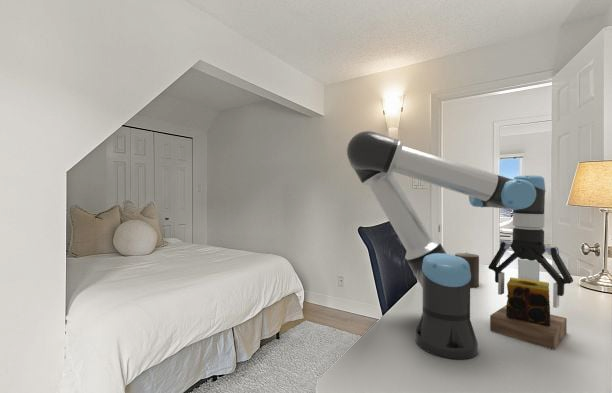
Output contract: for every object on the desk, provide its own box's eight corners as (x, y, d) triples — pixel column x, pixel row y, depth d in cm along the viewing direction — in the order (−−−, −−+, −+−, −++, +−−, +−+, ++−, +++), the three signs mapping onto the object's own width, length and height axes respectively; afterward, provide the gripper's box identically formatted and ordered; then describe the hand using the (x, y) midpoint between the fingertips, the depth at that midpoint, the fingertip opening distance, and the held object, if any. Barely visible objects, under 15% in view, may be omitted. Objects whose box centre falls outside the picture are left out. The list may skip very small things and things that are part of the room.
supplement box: (537, 285, 136) (537, 257, 136) (539, 290, 130) (539, 260, 130) (517, 283, 140) (517, 255, 140) (518, 287, 134) (518, 258, 134)
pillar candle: (471, 289, 130) (471, 254, 130) (450, 283, 139) (450, 250, 139) (483, 286, 136) (483, 252, 136) (462, 280, 144) (462, 249, 144)
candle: (550, 327, 82) (550, 290, 82) (505, 317, 89) (506, 283, 89) (550, 316, 90) (550, 282, 90) (509, 307, 97) (510, 276, 97)
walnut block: (553, 352, 79) (553, 332, 79) (490, 332, 91) (490, 315, 91) (566, 335, 89) (566, 318, 89) (507, 319, 100) (507, 304, 100)
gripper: (587, 231, 82) (586, 309, 82) (487, 223, 102) (486, 287, 102) (581, 233, 77) (580, 316, 77) (477, 225, 97) (476, 291, 97)
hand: (527, 299), depth 90 cm, fingers open, 13 cm apart
